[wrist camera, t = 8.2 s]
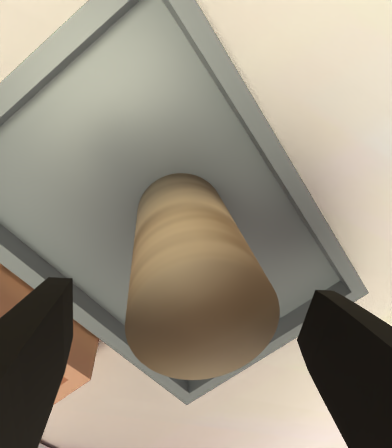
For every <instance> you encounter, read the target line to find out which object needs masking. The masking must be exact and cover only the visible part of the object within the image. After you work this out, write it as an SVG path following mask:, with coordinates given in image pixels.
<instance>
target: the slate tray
mask: <svg viewBox="0 0 392 448" xmlns="http://www.w3.org/2000/svg"><path fill="white" fill-rule="evenodd" d="M176 173H187V174H192V175H196V176H198V177H201V178H203V179H204V180H206V181H207V182H209V183H210V184H211V185H212V186H213V187H214V188H215V190H216V191H217V193H218V194H219V196H220V198H221V199H222V201H223V203H224V205H225V206H226V208H227V210H228V211H229V213H230V215H231V217H232V218H233V220H234V222H235V223H236V225H237V227H238V228H239V230H240V232H241V234H242V235H243V237H244V239H245V240H246V242H247V244H248V245H249V247H250V249H251V251H252V252H253V254H254V256H255V257H256V259H257V261H258V263H259V264H260V266H261V268H262V269H263V271H264V273H265V274H266V276H267V278H268V280H269V281H270V283H271V285H272V286H273V288H274V290H275V292H276V294H277V297H278V300H279V307H280V317H279V322H278V326H277V329H276V332H275V334H274V336H273V338H272V339H271V341H270V342H269V344H268V345H267V347H266V348H265V349H264V350H263V351H262V352H261V353H260V354H259V355H258V356H257V357H256V358H255V359H253V360H252V361H251V362H249V363H248V364H246V365H245V366H243V367H241V368H239V369H237V370H235V371H233V372H231V373H228V374H225V375H222V376H219V377H215V378H210V379H203V380H182V379H176V378H171V377H167V376H164V375H161V374H159V373H157V372H154V371H153V370H151V369H149V368H148V367H146V366H145V365H144V364H143V363H141V362H140V361H139V360H138V359H137V358H136V356H135V355H134V354H133V352H132V351H131V349H130V347H129V345H128V343H127V339H126V335H125V318H126V309H127V300H128V291H129V282H130V273H131V265H132V256H133V247H134V238H135V229H136V220H137V211H138V205H139V202H140V199H141V197H142V195H143V193H144V192H145V191H146V189H147V188H148V187H149V186H150V185H151V184H152V183H154V182H155V181H156V180H158V179H160V178H162V177H164V176H167V175H170V174H176ZM0 263H1V264H2V265H3V266H4V267H6V268H7V269H8V270H10V271H11V272H12V273H14V274H15V275H16V276H18V277H19V278H20V279H22V280H23V281H24V282H25V283H27V284H28V285H29V286H31V287H32V288H33V289H35V288H36V287H37V286H38V285H40V284H41V283H42V282H43V281H44V280H46V279H47V278H48V277H57V278H73V319H74V320H75V321H77V322H78V323H79V324H81V325H82V326H83V327H85V328H86V329H87V330H89V331H90V332H91V333H92V334H94V335H95V336H96V337H98V338H99V339H100V340H102V341H103V342H104V343H106V344H107V345H108V346H110V347H111V348H112V349H114V350H115V351H116V352H117V353H119V354H120V355H121V356H123V357H124V358H125V359H127V360H128V361H129V362H131V363H132V364H133V365H135V366H136V367H137V368H138V369H140V370H141V371H142V372H144V373H145V374H146V375H148V376H149V377H150V378H152V379H153V380H154V381H156V382H157V383H158V384H159V385H161V386H162V387H163V388H165V389H166V390H167V391H169V392H170V393H171V394H173V395H174V396H175V397H177V398H178V399H179V400H181V401H182V402H183V403H184V404H186V405H188V404H189V403H191V402H193V401H194V400H196V399H198V398H199V397H201V396H202V395H204V394H206V393H207V392H209V391H211V390H212V389H214V388H215V387H217V386H219V385H220V384H222V383H224V382H225V381H227V380H228V379H230V378H232V377H233V376H235V375H237V374H238V373H240V372H241V371H243V370H245V369H246V368H248V367H250V366H251V365H253V364H254V363H256V362H258V361H259V360H261V359H262V358H264V357H266V356H267V355H269V354H271V353H272V352H274V351H275V350H277V349H279V348H280V347H282V346H284V345H285V344H287V343H288V342H290V341H292V340H293V339H295V338H297V337H298V335H299V333H300V330H301V327H302V325H303V322H304V319H305V316H306V314H307V311H308V308H309V306H310V303H311V300H312V297H313V295H314V292H315V290H331V291H335V292H337V293H339V294H341V295H342V296H344V297H346V298H348V299H349V300H351V301H353V302H355V301H357V300H358V299H360V298H361V297H363V296H365V295H366V294H368V291H367V289H366V287H365V286H364V284H363V282H362V281H361V279H360V277H359V276H358V274H357V272H356V271H355V269H354V267H353V265H352V264H351V262H350V260H349V259H348V257H347V255H346V254H345V252H344V250H343V249H342V247H341V245H340V244H339V242H338V240H337V238H336V237H335V235H334V233H333V232H332V230H331V228H330V227H329V225H328V223H327V222H326V220H325V218H324V216H323V215H322V213H321V211H320V210H319V208H318V206H317V205H316V203H315V201H314V200H313V198H312V196H311V194H310V193H309V191H308V189H307V188H306V186H305V184H304V183H303V181H302V179H301V178H300V176H299V174H298V173H297V171H296V169H295V167H294V166H293V164H292V162H291V161H290V159H289V157H288V156H287V154H286V152H285V151H284V149H283V147H282V145H281V144H280V142H279V140H278V139H277V137H276V135H275V134H274V132H273V130H272V129H271V127H270V125H269V123H268V122H267V120H266V118H265V117H264V115H263V113H262V112H261V110H260V108H259V107H258V105H257V103H256V102H255V100H254V98H253V96H252V95H251V93H250V91H249V90H248V88H247V86H246V85H245V83H244V81H243V80H242V78H241V76H240V74H239V73H238V71H237V69H236V68H235V66H234V64H233V63H232V61H231V59H230V58H229V56H228V54H227V52H226V51H225V49H224V47H223V46H222V44H221V42H220V41H219V39H218V37H217V36H216V34H215V32H214V31H213V29H212V27H211V25H210V24H209V22H208V20H207V19H206V17H205V15H204V14H203V12H202V10H201V9H200V7H199V5H198V3H197V2H196V0H88V1H87V2H86V3H85V4H84V5H83V6H82V7H81V8H80V9H79V10H78V11H77V12H75V13H74V14H73V15H72V16H71V17H70V18H69V19H68V20H67V21H66V22H65V23H64V24H63V25H62V26H60V27H59V28H58V29H57V30H56V31H55V32H54V33H53V34H52V35H51V36H50V37H49V38H48V39H47V40H45V41H44V42H43V43H42V44H41V45H40V46H39V47H38V48H37V49H36V50H35V51H34V52H33V53H32V54H31V55H29V56H28V57H27V58H26V59H25V60H24V61H23V62H22V63H21V64H20V65H19V66H18V67H17V68H16V69H14V70H13V71H12V72H11V73H10V74H9V75H8V76H7V77H6V78H5V79H4V80H3V81H2V82H1V83H0Z"/></svg>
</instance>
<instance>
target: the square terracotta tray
mask: <svg viewBox="0 0 392 448" xmlns="http://www.w3.org/2000/svg"><path fill="white" fill-rule="evenodd" d="M33 290H34V289H33V288H32V287H31V286H29V285H28V284H27V283H25V282H24V281H23V280H22V279H20V278H19V277H18V276H16V275H15V274H14V273H12V272H11V271H10V270H8V269H7V268H6V267H4V266H3V265H2V264H1V263H0V318H1V317H2V316H3V315H4V314H6V313H7V312H8V311H9V310H10V309H12V308H13V307H14V306H15V305H16V304H17V303H19V302H20V301H21V300H22V299H23V298H24V297H26V296H27V295H28V294H29V293H30V292H31V291H33ZM98 342H99V338H98V337H96V336H95V335H94V334H92V333H91V332H90V331H89V330H87V329H86V328H85V327H83V326H82V325H81V324H79V323H78V322H77V321H75V320H74V319H73V340H72V344H71V349H70V353H69V357H68V361H67V365H66V369H65V373H64V376H63V379H62V382H61V385H60V388H59V390H58V393H57V396H56V399H55V402H54V404H56V403H57V402H58V401H60V400H61V399H63V398H64V397H66V396H67V395H69V394H70V393H72V392H73V391H75V390H76V389H78V388H79V387H81V386H82V385H84V384H85V383H87V382H88V381H90V380H91V376H92V371H93V366H94V361H95V356H96V352H97V347H98ZM54 404H53V405H54Z"/></svg>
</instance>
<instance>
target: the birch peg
mask: <svg viewBox="0 0 392 448" xmlns="http://www.w3.org/2000/svg"><path fill="white" fill-rule="evenodd" d="M279 317H280V307H279V300H278V297H277V294H276V292H275V290H274V288H273V286H272V285H271V283H270V281H269V280H268V278H267V276H266V274H265V273H264V271H263V269H262V268H261V266H260V264H259V263H258V261H257V259H256V257H255V256H254V254H253V252H252V251H251V249H250V247H249V245H248V244H247V242H246V240H245V239H244V237H243V235H242V234H241V232H240V230H239V228H238V227H237V225H236V223H235V222H234V220H233V218H232V217H231V215H230V213H229V211H228V210H227V208H226V206H225V205H224V203H223V201H222V199H221V198H220V196H219V194H218V193H217V191H216V190H215V188H214V187H213V186H212V185H211V184H210V183H209V182H207V181H206V180H204V179H203V178H201V177H198V176H196V175H192V174H187V173H176V174H170V175H167V176H164V177H162V178H160V179H158V180H156V181H155V182H154V183H152V184H151V185H150V186H149V187H148V188H147V189H146V191H145V192H144V193H143V195H142V197H141V199H140V202H139V205H138V211H137V220H136V229H135V238H134V247H133V256H132V265H131V273H130V282H129V291H128V300H127V309H126V318H125V335H126V339H127V343H128V345H129V347H130V349H131V351H132V352H133V354H134V355H135V356H136V358H137V359H138V360H139V361H140V362H141V363H143V364H144V365H145V366H146V367H148V368H149V369H151V370H153V371H154V372H157V373H159V374H161V375H164V376H167V377H171V378H176V379H182V380H203V379H210V378H215V377H219V376H222V375H225V374H228V373H231V372H233V371H235V370H237V369H239V368H241V367H243V366H245V365H246V364H248V363H249V362H251V361H252V360H253V359H255V358H256V357H257V356H258V355H259V354H260V353H261V352H262V351H263V350H264V349H265V348H266V347H267V345H268V344H269V342H270V341H271V339H272V338H273V336H274V334H275V332H276V329H277V326H278V322H279Z"/></svg>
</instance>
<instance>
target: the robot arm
mask: <svg viewBox="0 0 392 448" xmlns="http://www.w3.org/2000/svg"><path fill="white" fill-rule="evenodd" d="M72 340H73V278H57V277H48V278H47V279H46V280H44V281H43V282H42V283H41V284H40V285H38V286H37V287H36V288H35V289H34V290H33V291H31V292H30V293H29V294H28V295H27V296H26V297H24V298H23V299H22V300H21V301H20V302H19V303H17V304H16V305H15V306H14V307H13V308H12V309H10V310H9V311H8V312H7V313H6V314H4V315H3V316H2V317H1V318H0V448H49V447H47V446H45V445H43V444H41V443H40V440H41V438H42V435H43V432H44V429H45V427H46V424H47V421H48V418H49V415H50V413H51V410H52V407H53V404H54V402H55V399H56V396H57V393H58V390H59V388H60V385H61V382H62V379H63V376H64V373H65V369H66V365H67V361H68V357H69V353H70V349H71V344H72ZM297 341H298V344H299V347H300V350H301V353H302V356H303V358H304V361H305V363H306V366H307V369H308V371H309V373H310V375H311V377H312V379H313V381H314V383H315V385H316V387H317V389H318V391H319V393H320V395H321V397H322V399H323V401H324V403H325V404H326V406H327V408H328V410H329V412H330V414H331V416H332V418H333V420H334V422H335V423H336V425H337V427H338V429H339V431H340V433H341V435H342V437H343V439H344V441H345V442H346V444H347V446H348V448H392V326H390V325H389V324H387V323H386V322H384V321H383V320H381V319H379V318H378V317H376V316H375V315H373V314H372V313H370V312H369V311H367V310H365V309H364V308H362V307H361V306H359V305H357V304H356V303H354V302H353V301H351V300H349V299H348V298H346V297H344V296H342V295H341V294H339V293H337V292H335V291H331V290H315V292H314V295H313V297H312V300H311V303H310V306H309V308H308V311H307V314H306V316H305V319H304V322H303V325H302V327H301V330H300V333H299V335H298V338H297Z"/></svg>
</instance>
